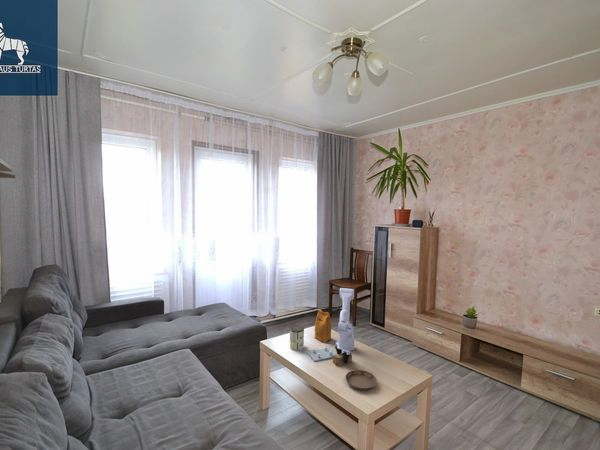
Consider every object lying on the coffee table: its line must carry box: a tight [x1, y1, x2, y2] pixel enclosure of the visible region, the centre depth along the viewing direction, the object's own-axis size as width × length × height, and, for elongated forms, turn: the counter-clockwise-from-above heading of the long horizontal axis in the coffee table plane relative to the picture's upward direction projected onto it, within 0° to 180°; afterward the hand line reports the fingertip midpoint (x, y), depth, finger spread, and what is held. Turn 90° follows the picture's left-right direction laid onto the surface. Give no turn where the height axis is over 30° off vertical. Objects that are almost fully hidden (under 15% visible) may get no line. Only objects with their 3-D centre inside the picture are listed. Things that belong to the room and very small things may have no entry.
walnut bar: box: [332, 353, 353, 367], centre depth 183 cm, size 12×4×5 cm, turn 113°
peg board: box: [306, 345, 337, 363], centre depth 192 cm, size 18×12×4 cm, turn 113°
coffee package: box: [314, 309, 333, 343], centre depth 217 cm, size 10×12×22 cm
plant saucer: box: [345, 369, 378, 392], centre depth 161 cm, size 18×18×3 cm
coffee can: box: [289, 324, 305, 351], centre depth 203 cm, size 10×10×14 cm
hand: (342, 360), depth 183 cm, fingers open, 7 cm apart
